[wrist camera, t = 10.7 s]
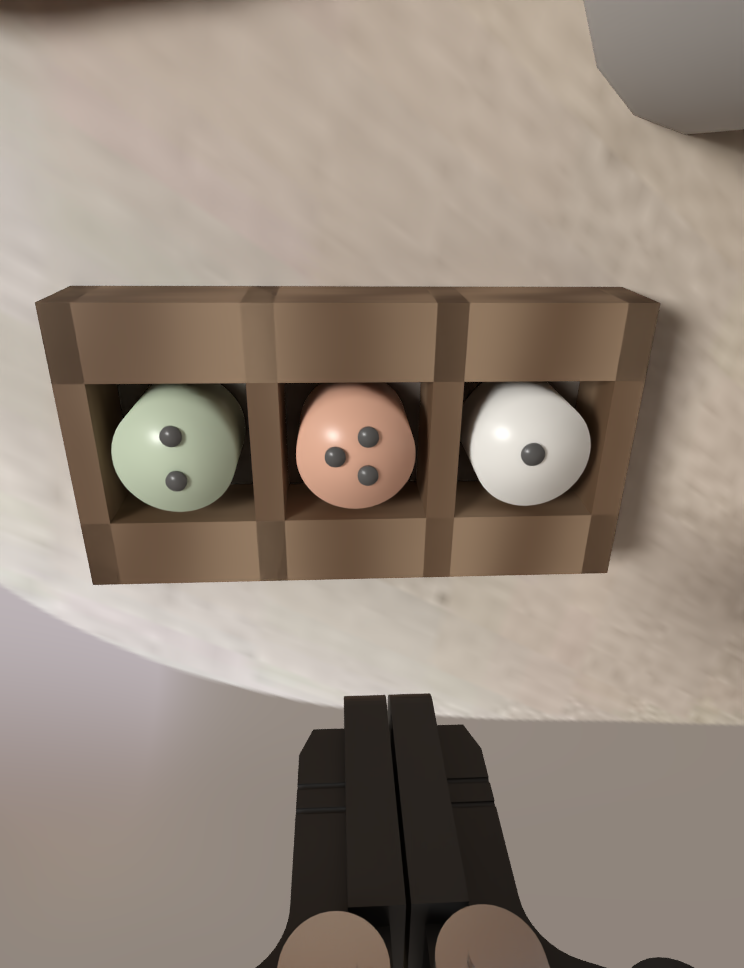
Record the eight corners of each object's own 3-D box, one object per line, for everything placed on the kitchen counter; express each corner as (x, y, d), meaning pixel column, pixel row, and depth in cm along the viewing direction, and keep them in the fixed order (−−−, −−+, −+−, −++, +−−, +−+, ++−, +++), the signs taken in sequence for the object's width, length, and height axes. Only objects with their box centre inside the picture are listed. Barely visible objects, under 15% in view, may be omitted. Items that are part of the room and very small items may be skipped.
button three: (408, 372, 24) (418, 399, 21) (404, 471, 26) (413, 509, 23) (297, 372, 24) (293, 400, 21) (301, 473, 26) (298, 511, 23)
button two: (241, 373, 24) (230, 401, 21) (249, 474, 25) (239, 512, 23) (128, 373, 23) (100, 402, 21) (143, 475, 25) (120, 514, 22)
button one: (569, 371, 24) (601, 398, 22) (555, 469, 26) (582, 506, 23) (462, 371, 24) (479, 399, 21) (455, 471, 26) (470, 508, 23)
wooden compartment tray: (622, 287, 23) (660, 303, 21) (580, 533, 28) (607, 572, 25) (70, 285, 22) (34, 302, 20) (116, 542, 27) (93, 584, 24)
